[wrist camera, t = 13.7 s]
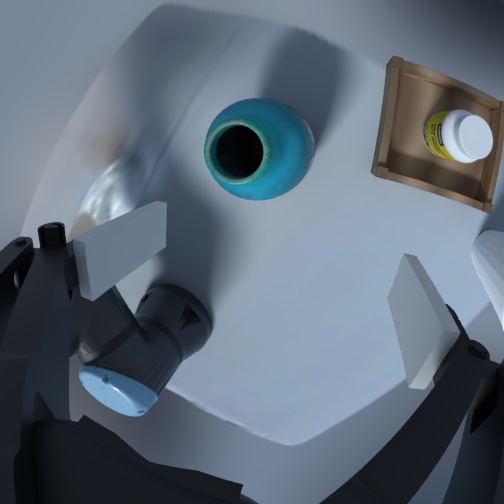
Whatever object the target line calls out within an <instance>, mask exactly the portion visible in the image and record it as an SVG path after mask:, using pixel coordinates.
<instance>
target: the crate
mask: <svg viewBox="0 0 504 504" xmlns="http://www.w3.org/2000/svg"><path fill="white" fill-rule="evenodd" d="M452 110H465V111H468V112H470V113H472V114H473V115H477V116H479V117H481V118H483V119H484V120H485V121H486V122H487V124H488V125H489V127H490V129H491V132H492V136H493V145H492V149H491V151H490V153H489V154H488V155H487V156H486V157H485V158H482V159H478V160H476V161H474V162H471V163H462V162H458V161H454V160H450V159H446V158H442V157H439V156H436V155H434V154H433V153H432V152H431V151H430V150H429V149H428V148H427V146H426V145H425V143H424V140H423V135H422V129H423V124H424V122H425V120H426V119H427V118H428V117H429V116H431V115H433V114H436V113H441V112H446V111H452ZM503 141H504V102H503V101H498V100H497V99H495V98H493V97H491V96H489V95H488V94H485V93H484V92H482V91H480V90H478V89H476V88H473V87H471V86H469V85H467V84H465V83H463V82H460V81H458V80H456V79H453V78H451V77H449V76H446V75H444V74H441V73H439V72H436V71H433V70H431V69H428V68H425V67H422V66H419V65H417V64H414V63H411V62H407V61H404V59H402V58H400V57H396V56H393V57H392V58H391V59H390V61H389V62H388V63H387V67H386V77H385V87H384V95H383V103H382V110H381V117H380V124H379V130H378V136H377V142H376V148H375V154H374V159H373V164H372V169H371V173H372V174H373V175H374V176H376V177H379V178H383V179H388V180H391V181H395V182H399V183H402V184H405V185H409V186H412V187H416V188H419V189H422V190H425V191H428V192H431V193H435V194H438V195H441V196H444V197H447V198H449V199H452V200H455V201H458V202H461V203H464V204H466V205H469V206H472V207H474V208H477V209H480V210H482V211H484V212H486V213H489V214H491V211H492V207H493V204H491V202H492V199H493V194H494V190H495V186H496V181H497V176H498V171H499V166H500V161H501V154H502V148H503Z"/></svg>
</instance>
